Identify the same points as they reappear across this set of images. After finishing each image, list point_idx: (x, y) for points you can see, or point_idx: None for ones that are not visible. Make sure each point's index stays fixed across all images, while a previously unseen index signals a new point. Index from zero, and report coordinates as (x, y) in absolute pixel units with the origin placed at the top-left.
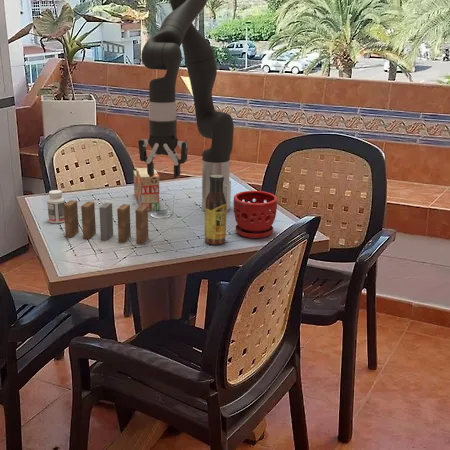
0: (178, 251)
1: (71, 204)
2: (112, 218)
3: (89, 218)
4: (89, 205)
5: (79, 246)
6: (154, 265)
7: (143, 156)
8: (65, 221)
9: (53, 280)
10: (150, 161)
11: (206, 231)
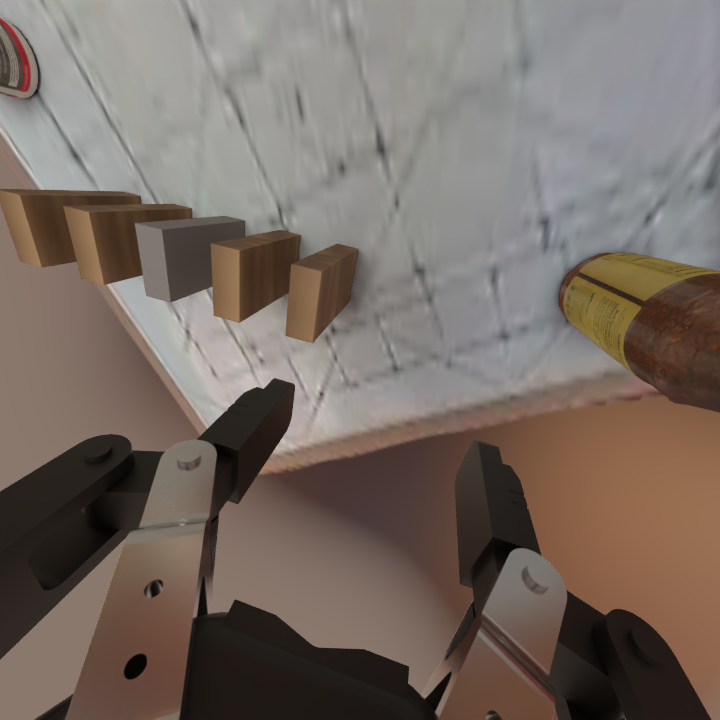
0: (455, 366)
1: (38, 252)
2: (208, 226)
3: None
4: (101, 267)
5: (196, 318)
6: (393, 442)
7: (104, 551)
8: None
9: None
10: (214, 529)
11: (576, 324)
